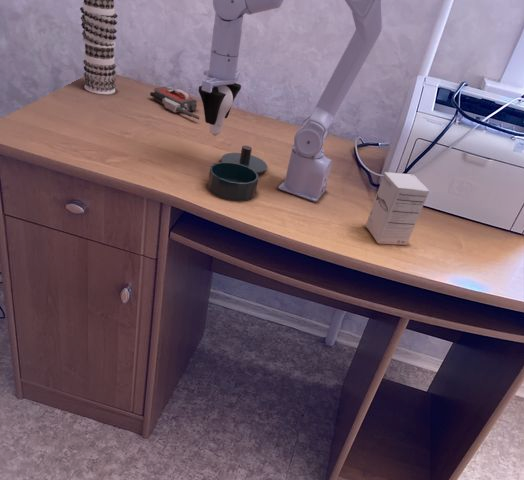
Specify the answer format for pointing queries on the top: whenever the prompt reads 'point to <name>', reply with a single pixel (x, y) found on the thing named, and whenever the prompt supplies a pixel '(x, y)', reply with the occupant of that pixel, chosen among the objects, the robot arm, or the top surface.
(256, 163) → the pan lid
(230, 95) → the lightbulb
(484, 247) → the top surface
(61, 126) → the top surface
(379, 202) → the white packaging box
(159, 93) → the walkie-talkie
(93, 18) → the decorative candle
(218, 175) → the dark bowl
